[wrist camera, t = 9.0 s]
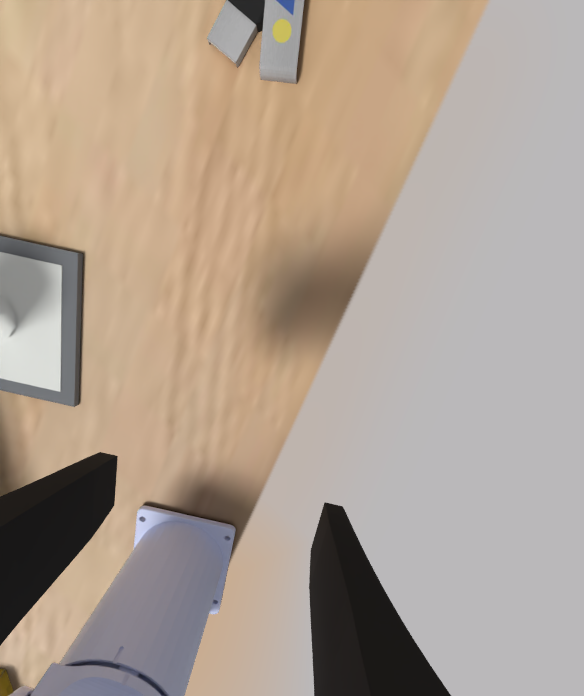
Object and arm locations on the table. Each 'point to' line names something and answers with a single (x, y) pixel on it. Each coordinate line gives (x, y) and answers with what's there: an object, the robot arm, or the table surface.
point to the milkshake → (6, 319)
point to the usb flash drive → (277, 37)
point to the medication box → (5, 683)
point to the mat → (41, 321)
